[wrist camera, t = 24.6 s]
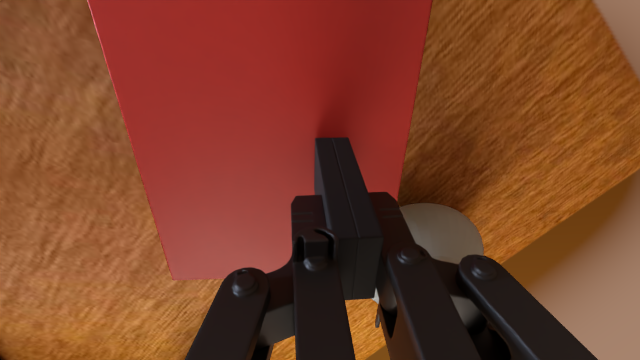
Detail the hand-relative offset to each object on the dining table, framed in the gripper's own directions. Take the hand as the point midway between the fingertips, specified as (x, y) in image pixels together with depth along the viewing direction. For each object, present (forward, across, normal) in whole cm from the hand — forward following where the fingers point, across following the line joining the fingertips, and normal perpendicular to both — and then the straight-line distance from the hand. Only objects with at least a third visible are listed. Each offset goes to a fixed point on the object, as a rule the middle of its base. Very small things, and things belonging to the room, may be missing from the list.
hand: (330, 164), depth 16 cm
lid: (+1, +3, 0) cm, 3 cm away
